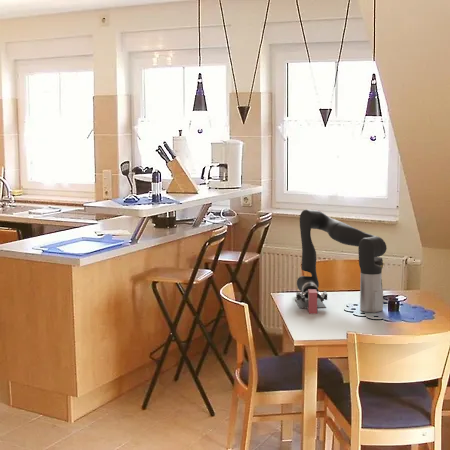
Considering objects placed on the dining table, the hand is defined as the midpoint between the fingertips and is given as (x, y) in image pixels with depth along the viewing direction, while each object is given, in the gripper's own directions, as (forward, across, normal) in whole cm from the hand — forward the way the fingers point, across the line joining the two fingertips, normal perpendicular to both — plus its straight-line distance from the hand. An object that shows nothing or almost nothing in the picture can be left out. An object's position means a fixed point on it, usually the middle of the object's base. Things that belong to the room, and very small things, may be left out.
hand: (313, 299), depth 341 cm
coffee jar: (-35, +32, +6) cm, 48 cm away
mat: (-16, 0, +6) cm, 17 cm away
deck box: (-2, 0, +6) cm, 6 cm away
